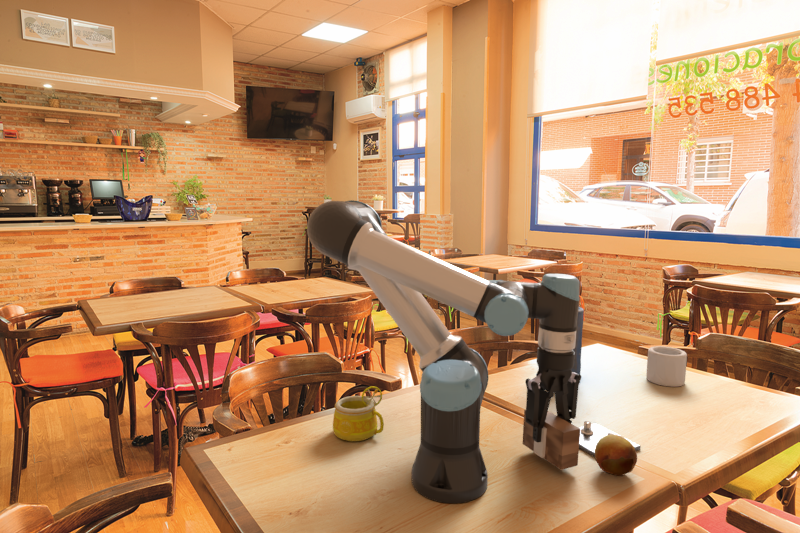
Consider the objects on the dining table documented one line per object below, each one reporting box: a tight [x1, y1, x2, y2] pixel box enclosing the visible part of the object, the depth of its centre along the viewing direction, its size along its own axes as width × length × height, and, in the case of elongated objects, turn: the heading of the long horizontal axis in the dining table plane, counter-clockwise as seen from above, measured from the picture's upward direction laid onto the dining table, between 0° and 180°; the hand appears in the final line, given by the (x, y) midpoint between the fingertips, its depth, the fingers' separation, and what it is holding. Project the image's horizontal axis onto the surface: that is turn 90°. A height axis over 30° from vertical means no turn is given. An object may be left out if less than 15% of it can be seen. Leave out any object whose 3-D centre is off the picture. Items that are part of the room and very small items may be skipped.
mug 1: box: [332, 385, 385, 442], centre depth 119 cm, size 13×11×12 cm
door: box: [522, 409, 580, 471], centre depth 107 cm, size 12×4×8 cm, turn 26°
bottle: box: [571, 306, 585, 375], centre depth 158 cm, size 10×10×30 cm
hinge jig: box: [577, 420, 641, 458], centre depth 116 cm, size 12×13×4 cm
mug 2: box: [645, 345, 688, 388], centre depth 157 cm, size 14×11×10 cm
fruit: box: [594, 434, 638, 477], centre depth 102 cm, size 8×8×8 cm
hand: (548, 452), depth 107 cm, fingers closed on door, 4 cm apart
